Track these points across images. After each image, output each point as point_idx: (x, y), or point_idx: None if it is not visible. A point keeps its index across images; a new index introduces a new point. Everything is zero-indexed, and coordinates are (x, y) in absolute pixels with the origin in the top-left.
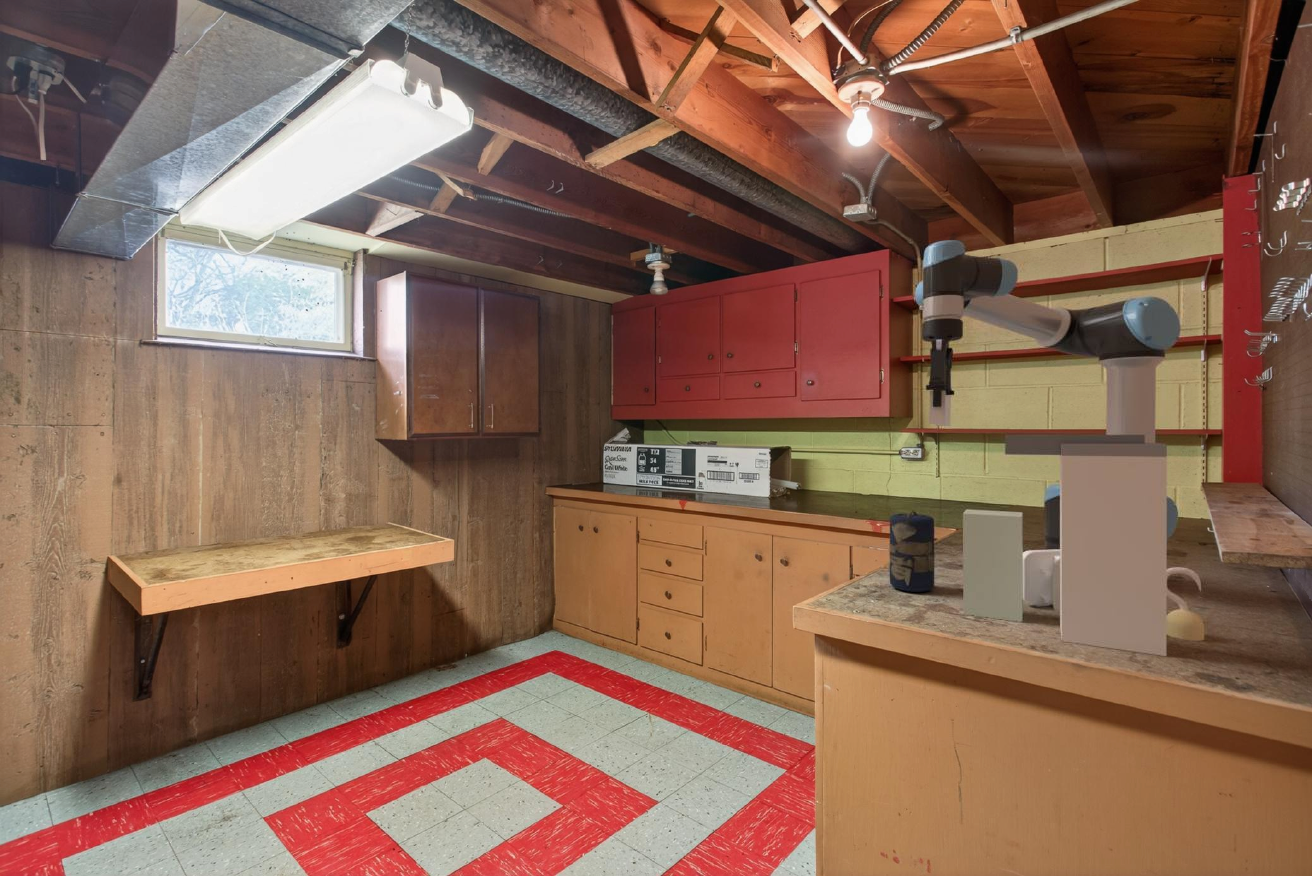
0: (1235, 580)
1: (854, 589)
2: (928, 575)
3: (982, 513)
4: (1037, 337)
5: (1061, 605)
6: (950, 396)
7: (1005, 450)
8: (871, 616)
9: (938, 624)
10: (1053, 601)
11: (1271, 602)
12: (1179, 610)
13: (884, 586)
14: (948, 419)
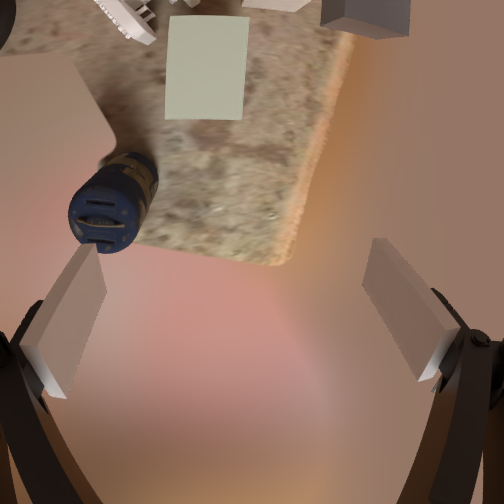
0: None
1: (173, 238)
2: (140, 160)
3: (224, 84)
4: None
5: (296, 3)
6: (36, 339)
7: (382, 38)
8: (285, 198)
9: (286, 128)
10: (192, 5)
11: None
12: None
13: None
14: (87, 264)
